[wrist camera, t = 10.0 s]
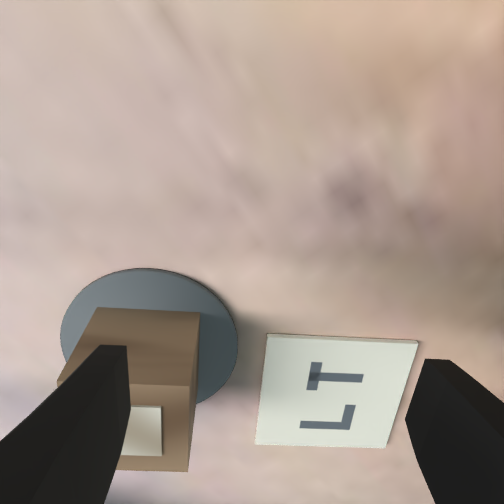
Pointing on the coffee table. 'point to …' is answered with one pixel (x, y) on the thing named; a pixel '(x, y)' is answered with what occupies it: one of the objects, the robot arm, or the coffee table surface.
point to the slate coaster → (161, 298)
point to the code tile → (331, 390)
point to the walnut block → (151, 381)
